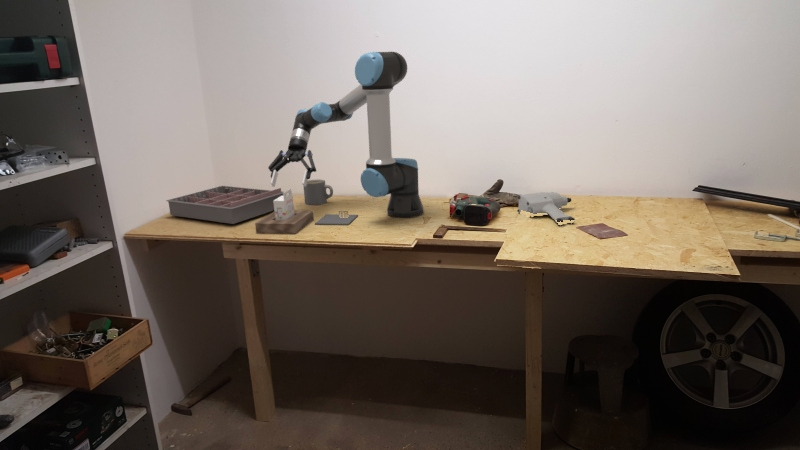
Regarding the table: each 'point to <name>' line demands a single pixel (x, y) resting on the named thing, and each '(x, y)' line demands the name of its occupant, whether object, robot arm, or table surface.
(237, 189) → the organizer tray
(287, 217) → the ink cartridge box
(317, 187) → the coffee mug
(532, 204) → the impact wrench
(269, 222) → the cartridge holder
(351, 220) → the rubber mat
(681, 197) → the table surface
